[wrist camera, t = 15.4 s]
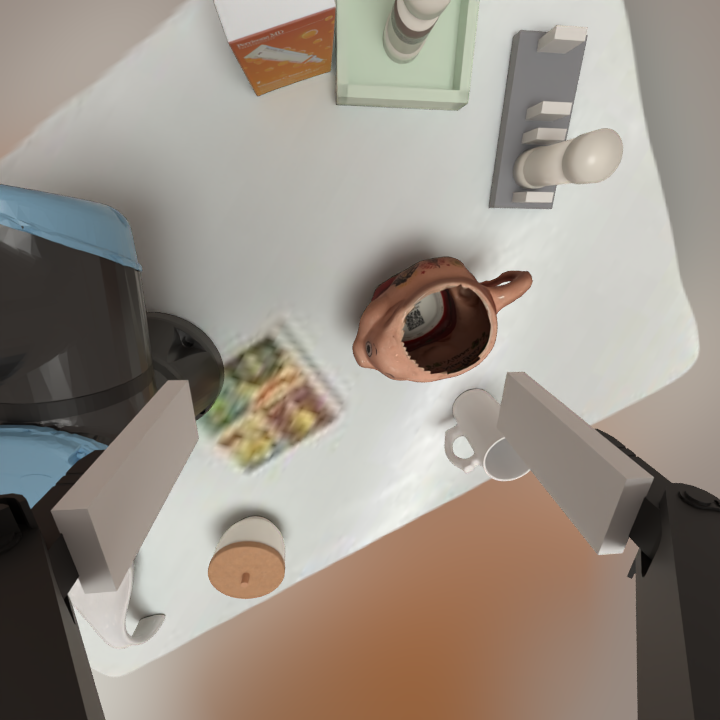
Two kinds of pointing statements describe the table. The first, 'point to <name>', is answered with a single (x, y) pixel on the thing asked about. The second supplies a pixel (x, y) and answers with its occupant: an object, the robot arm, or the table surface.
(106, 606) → the grey curved piece
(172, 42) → the table surface
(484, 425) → the mug
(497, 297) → the decorative planter
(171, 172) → the table surface
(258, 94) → the small box
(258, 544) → the lidded jar
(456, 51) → the parts tray
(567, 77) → the holder
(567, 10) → the table surface
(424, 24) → the light bulb
